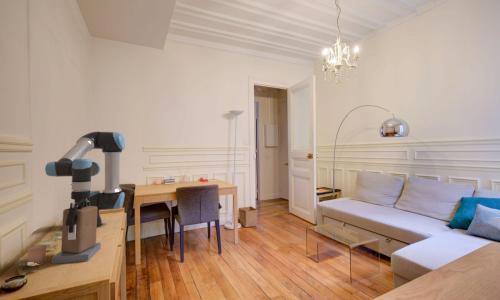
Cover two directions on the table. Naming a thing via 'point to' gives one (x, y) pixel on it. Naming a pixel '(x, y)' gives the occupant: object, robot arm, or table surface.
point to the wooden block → (80, 230)
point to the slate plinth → (76, 255)
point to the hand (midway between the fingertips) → (79, 234)
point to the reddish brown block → (37, 254)
